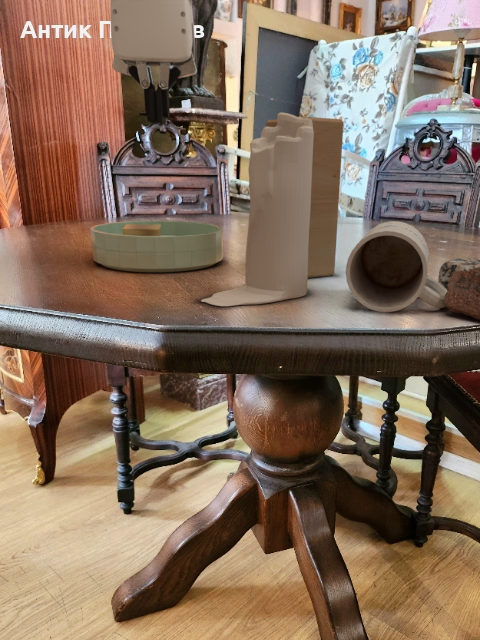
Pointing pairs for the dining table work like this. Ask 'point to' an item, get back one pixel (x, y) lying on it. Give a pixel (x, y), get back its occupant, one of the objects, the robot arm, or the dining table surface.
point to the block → (142, 230)
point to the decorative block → (323, 194)
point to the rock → (456, 268)
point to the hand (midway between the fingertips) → (158, 123)
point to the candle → (277, 215)
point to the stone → (464, 293)
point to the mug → (392, 269)
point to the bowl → (158, 246)
